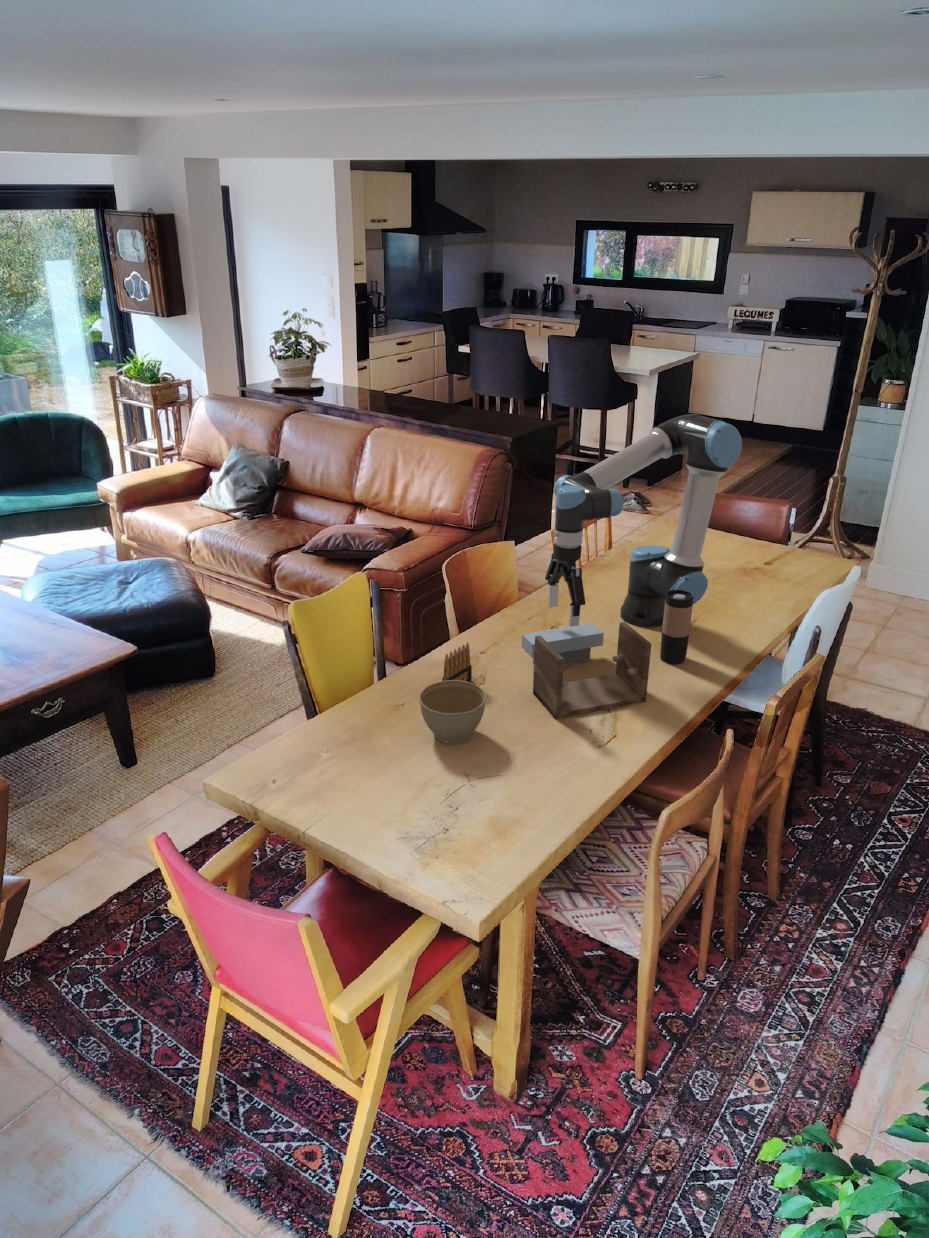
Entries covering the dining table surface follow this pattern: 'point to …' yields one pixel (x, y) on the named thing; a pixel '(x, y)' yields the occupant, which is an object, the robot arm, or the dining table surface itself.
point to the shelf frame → (593, 691)
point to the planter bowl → (452, 709)
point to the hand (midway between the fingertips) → (562, 616)
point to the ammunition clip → (458, 665)
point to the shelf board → (565, 638)
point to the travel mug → (676, 626)
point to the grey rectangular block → (575, 656)
